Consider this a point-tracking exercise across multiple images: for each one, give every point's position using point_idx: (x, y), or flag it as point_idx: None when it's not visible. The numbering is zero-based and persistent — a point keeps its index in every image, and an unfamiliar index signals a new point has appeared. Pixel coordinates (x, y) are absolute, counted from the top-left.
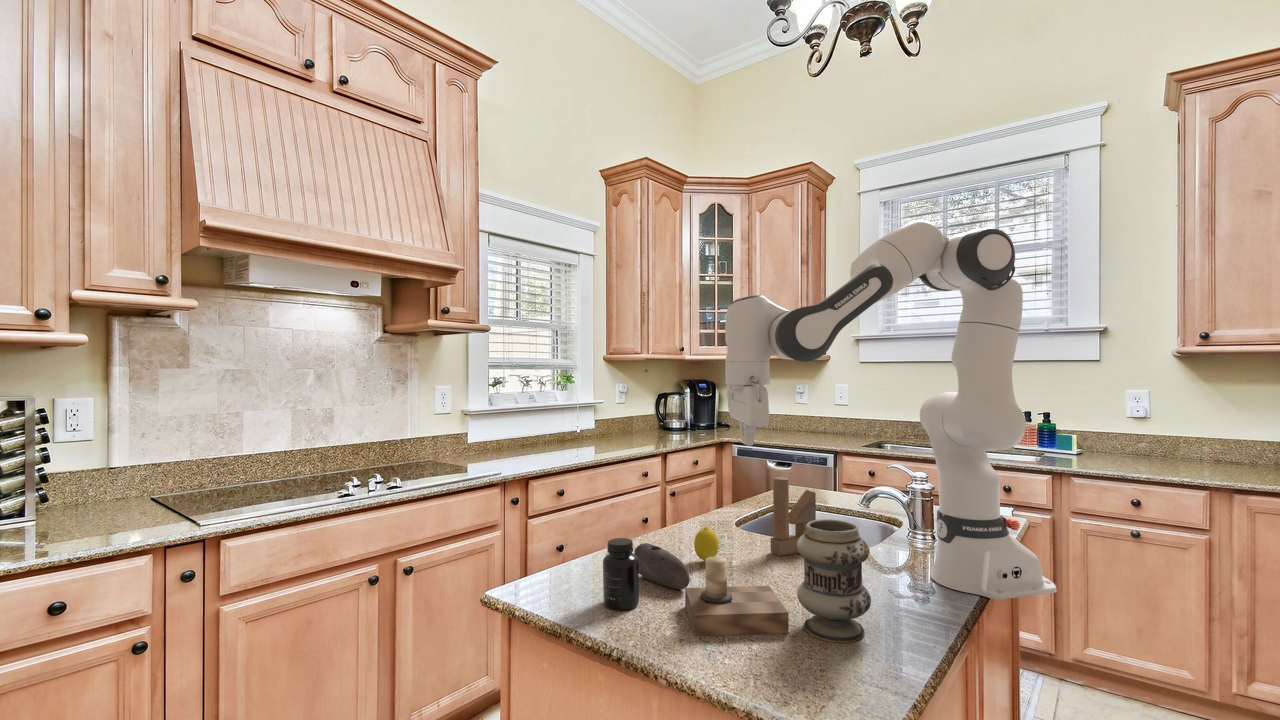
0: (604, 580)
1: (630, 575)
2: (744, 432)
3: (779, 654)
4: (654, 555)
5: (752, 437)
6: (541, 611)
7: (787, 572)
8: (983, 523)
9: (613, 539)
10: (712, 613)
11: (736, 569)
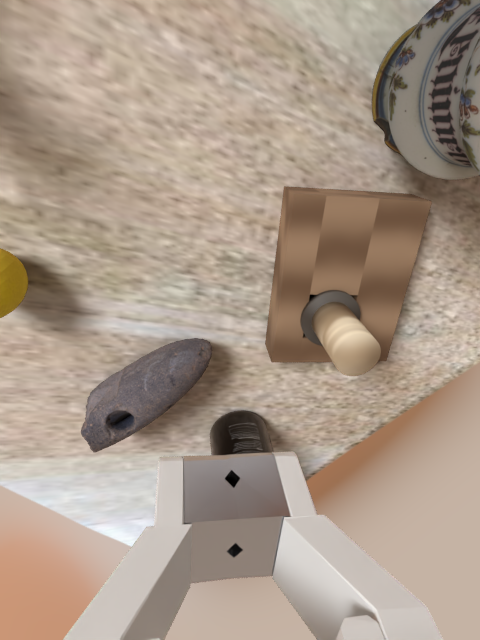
0: None
1: None
2: (305, 622)
3: (466, 235)
4: (151, 421)
5: (313, 516)
6: None
7: (76, 50)
8: None
9: None
10: (389, 334)
11: (57, 200)
